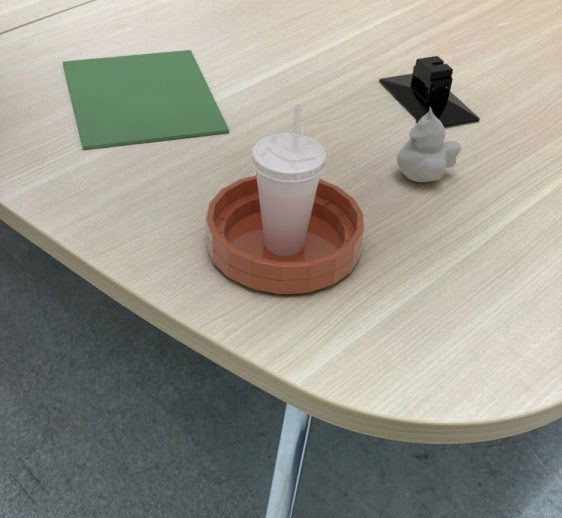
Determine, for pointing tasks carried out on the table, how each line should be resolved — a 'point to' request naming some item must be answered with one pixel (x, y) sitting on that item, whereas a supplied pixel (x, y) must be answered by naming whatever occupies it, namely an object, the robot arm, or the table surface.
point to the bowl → (284, 269)
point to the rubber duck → (427, 151)
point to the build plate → (430, 93)
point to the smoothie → (287, 186)
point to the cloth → (141, 99)
